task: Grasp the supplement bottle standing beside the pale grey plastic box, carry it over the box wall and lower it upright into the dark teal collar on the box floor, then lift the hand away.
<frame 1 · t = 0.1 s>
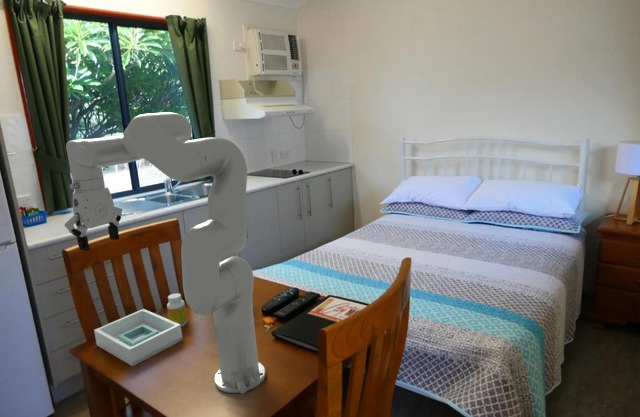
hand: (100, 244, 123), 31 cm above the table, tool pointing down, fingers open, 9 cm apart
storage box: (139, 342, 130), on the table
supplement bottle: (178, 324, 141), on the table
drinking glass: (227, 303, 154), on the table
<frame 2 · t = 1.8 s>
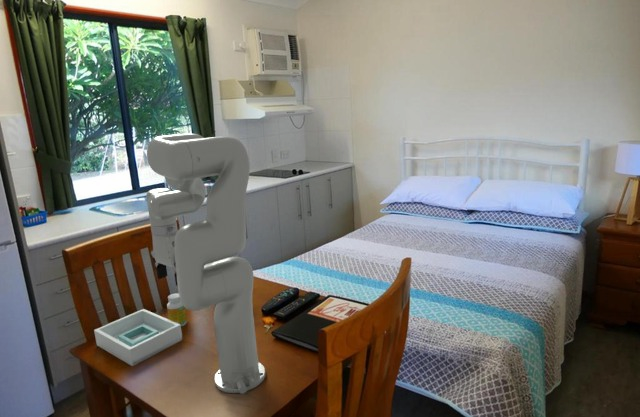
hand: (171, 280, 138), 15 cm above the table, tool pointing down, fingers open, 9 cm apart
nothing on the table moved.
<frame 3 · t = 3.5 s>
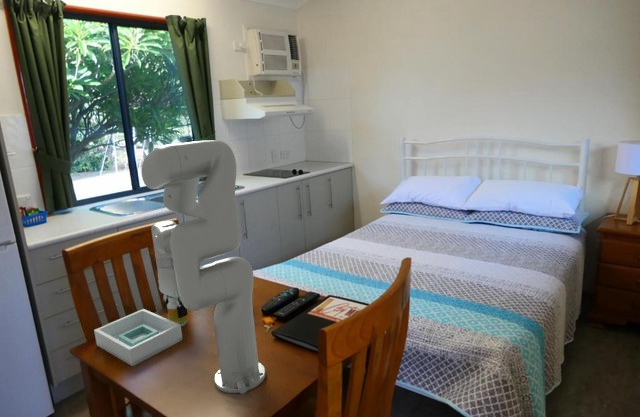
hand: (177, 313, 140), 4 cm above the table, tool pointing down, fingers closed on supplement bottle, 5 cm apart
supplement bottle: (178, 324, 141), on the table, touching gripper
everything else where it was.
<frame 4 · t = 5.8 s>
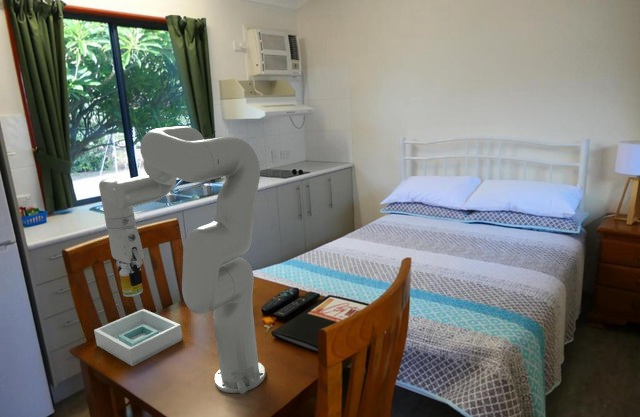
hand: (131, 281, 126), 19 cm above the table, tool pointing down, fingers closed on supplement bottle, 5 cm apart
supplement bottle: (133, 293, 127), point 16 cm above the table, touching gripper
everything else where it was.
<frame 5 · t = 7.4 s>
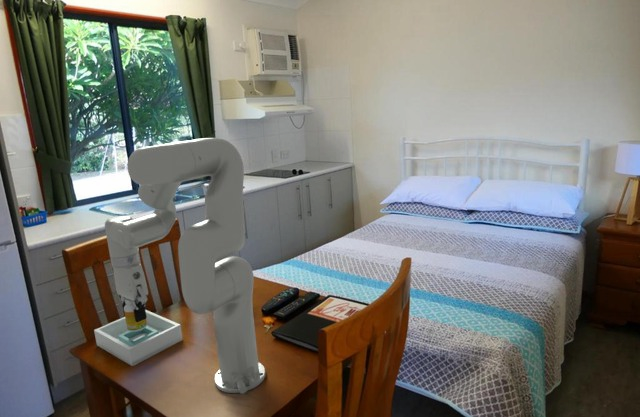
hand: (135, 317, 128), 8 cm above the table, tool pointing down, fingers closed on supplement bottle, 5 cm apart
supplement bottle: (137, 328, 129), point 5 cm above the table, touching gripper
everything else where it was.
when the fingers open (5 cm above the table, at t = 8.3 s): supplement bottle stays where it is, resting on storage box.
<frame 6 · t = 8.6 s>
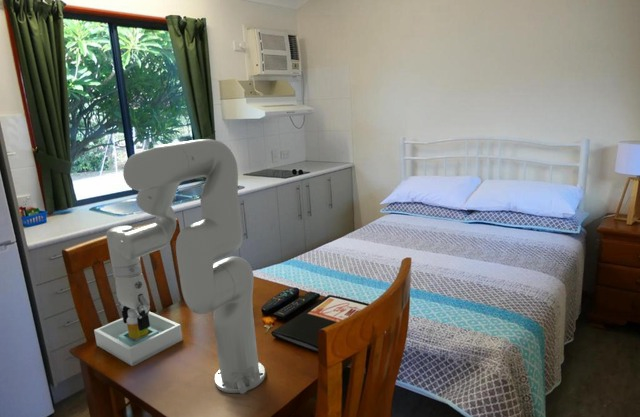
hand: (136, 324, 129), 6 cm above the table, tool pointing down, fingers open, 7 cm apart
supplement bottle: (140, 340, 130), point 1 cm above the table, touching storage box
everything else where it was.
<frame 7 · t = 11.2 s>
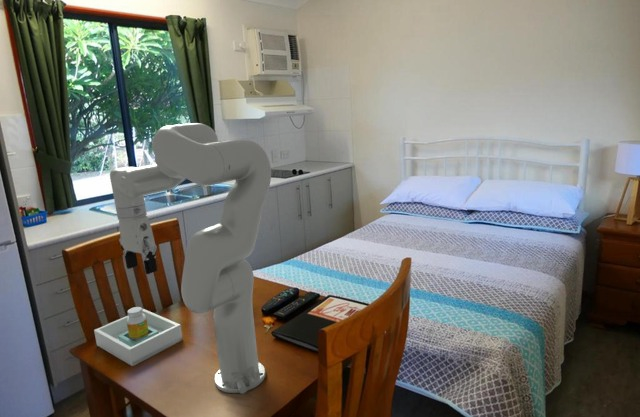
hand: (141, 269, 125), 23 cm above the table, tool pointing down, fingers open, 9 cm apart
nothing on the table moved.
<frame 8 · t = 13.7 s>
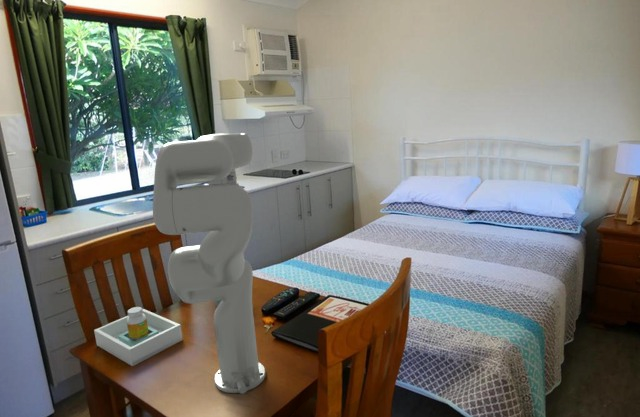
hand: (229, 237, 125), 30 cm above the table, tool pointing down, fingers open, 9 cm apart
nothing on the table moved.
at the end: supplement bottle 0.3 cm off-centre on the storage box, point 0.8 cm above the storage box's base; supplement bottle tilted 0°; the gripper is holding nothing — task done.
